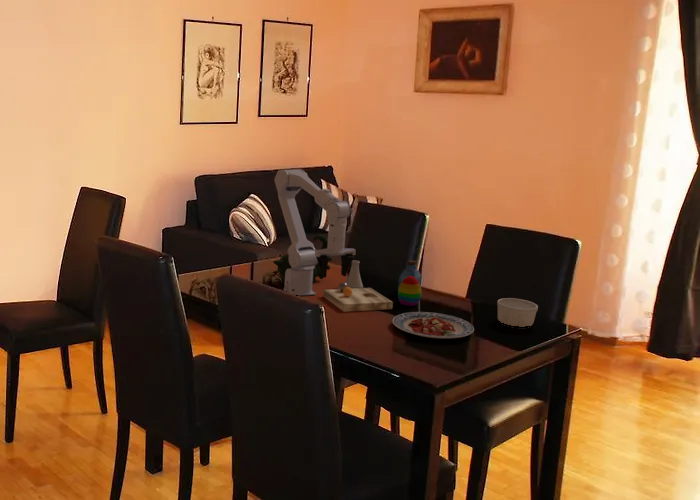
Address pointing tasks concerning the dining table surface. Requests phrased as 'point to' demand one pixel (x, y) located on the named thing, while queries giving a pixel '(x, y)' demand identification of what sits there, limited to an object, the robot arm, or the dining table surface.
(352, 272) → the flask
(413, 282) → the decorative egg
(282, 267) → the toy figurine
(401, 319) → the ceramic plate
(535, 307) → the ramekin
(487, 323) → the dining table surface
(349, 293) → the ball
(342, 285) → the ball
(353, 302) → the board
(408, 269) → the perfume bottle
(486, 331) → the dining table surface
